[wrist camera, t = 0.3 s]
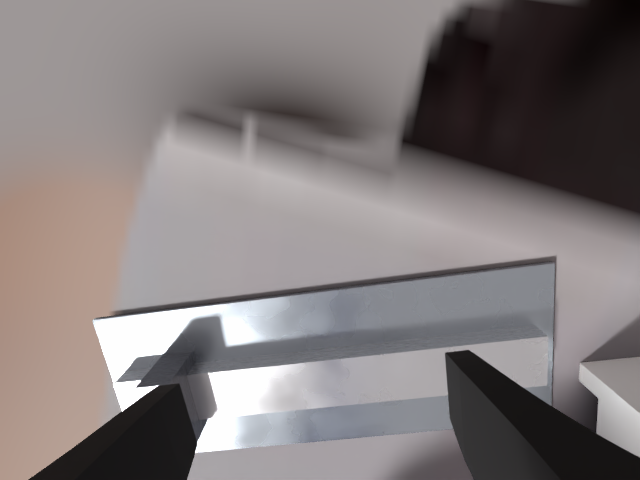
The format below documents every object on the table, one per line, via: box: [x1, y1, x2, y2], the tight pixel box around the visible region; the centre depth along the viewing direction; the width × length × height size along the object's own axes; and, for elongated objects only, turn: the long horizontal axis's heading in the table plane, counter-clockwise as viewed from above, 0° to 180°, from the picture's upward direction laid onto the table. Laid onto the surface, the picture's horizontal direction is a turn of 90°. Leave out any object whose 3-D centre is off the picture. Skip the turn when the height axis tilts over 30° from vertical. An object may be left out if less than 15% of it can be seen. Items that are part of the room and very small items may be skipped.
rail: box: [93, 262, 555, 453], centre depth 18 cm, size 10×26×3 cm, turn 99°
